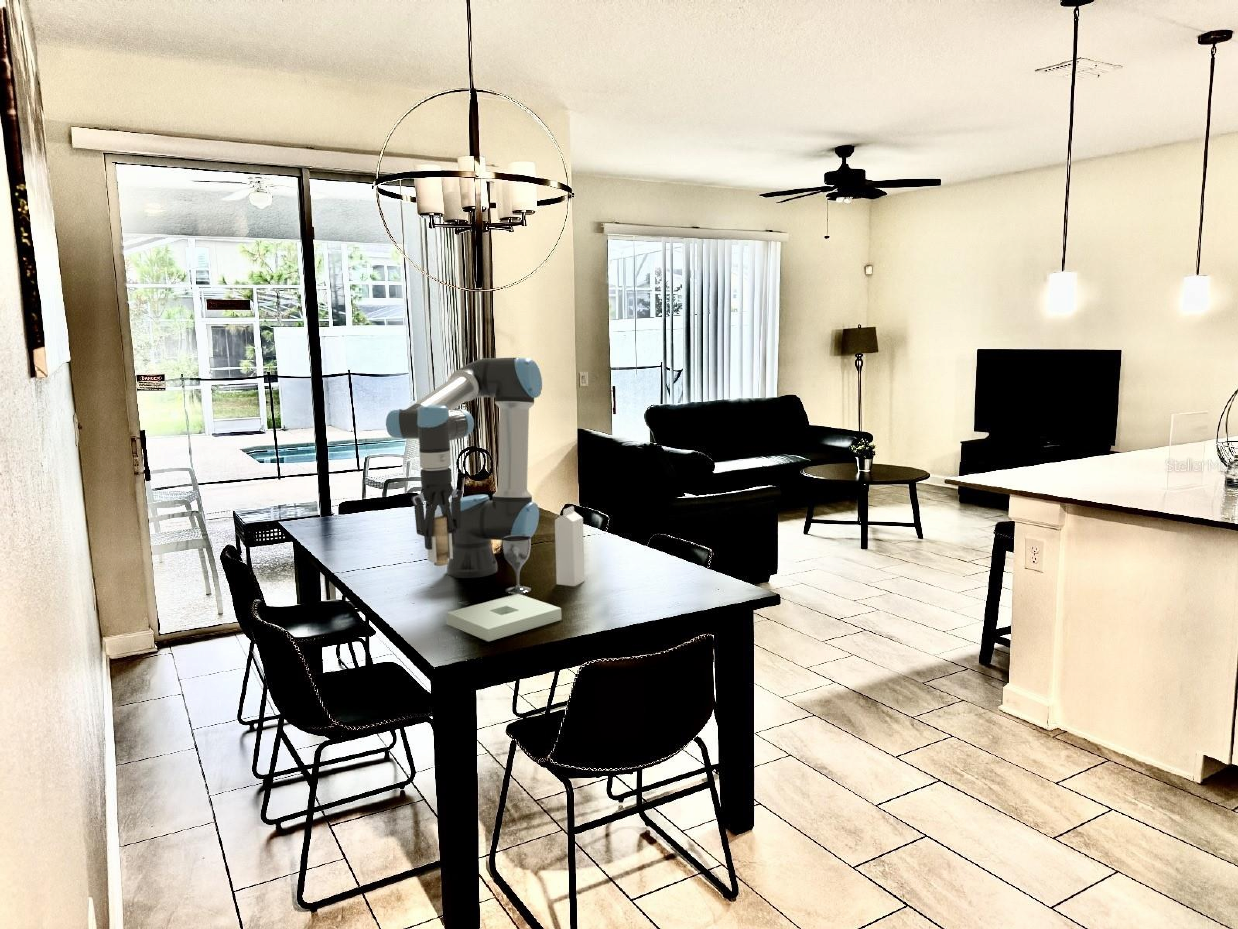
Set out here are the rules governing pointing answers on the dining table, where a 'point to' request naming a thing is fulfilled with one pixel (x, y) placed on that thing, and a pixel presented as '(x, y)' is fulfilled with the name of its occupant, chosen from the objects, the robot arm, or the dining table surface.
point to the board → (503, 617)
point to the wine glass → (517, 557)
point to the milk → (569, 548)
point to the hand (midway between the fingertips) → (440, 559)
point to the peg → (441, 540)
